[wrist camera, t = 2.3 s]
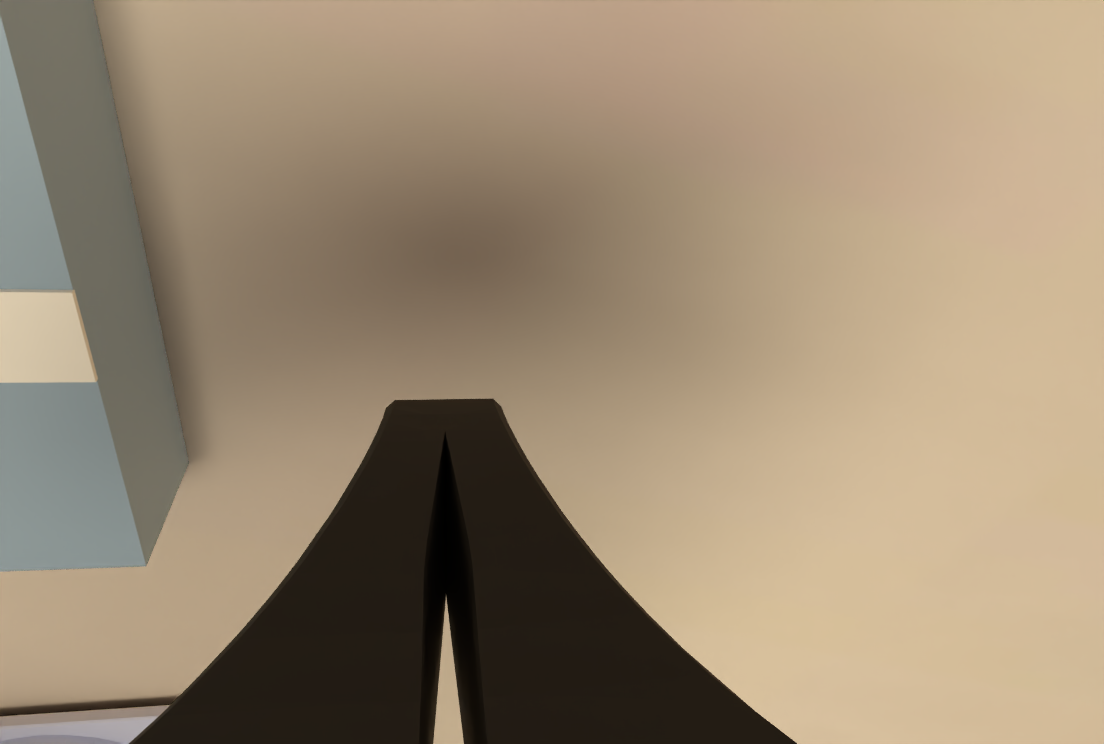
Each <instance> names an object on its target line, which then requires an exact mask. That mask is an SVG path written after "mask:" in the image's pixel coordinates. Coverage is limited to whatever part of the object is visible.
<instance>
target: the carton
mask: <svg viewBox="0 0 1104 744" xmlns="http://www.w3.org/2000/svg"><path fill="white" fill-rule="evenodd" d="M188 464H189V460H188V456H187V451H186V446H185V441H184V436H183V431H182V427H181V422H180V417H179V412H178V407H177V402H176V398H175V393H174V388H173V383H172V378H171V373H170V369H169V364H168V359H167V354H166V349H165V344H164V340H163V335H162V330H161V325H160V320H159V315H158V311H157V306H156V301H155V296H154V291H153V286H152V282H151V277H150V272H149V267H148V262H147V257H146V253H145V248H144V243H143V238H142V233H141V229H140V224H139V219H138V214H137V209H136V204H135V200H134V195H133V190H132V185H131V180H130V175H129V171H128V166H127V161H126V156H125V151H124V146H123V142H122V137H121V132H120V127H119V122H118V117H117V113H116V108H115V103H114V98H113V93H112V88H111V84H110V79H109V74H108V69H107V64H106V59H105V55H104V50H103V45H102V40H101V35H100V31H99V26H98V21H97V16H96V11H95V6H94V2H93V0H0V571H28V570H56V569H84V568H112V567H139V566H147V563H148V561H149V558H150V556H151V553H152V551H153V549H154V546H155V544H156V541H157V539H158V536H159V534H160V532H161V529H162V527H163V524H164V522H165V519H166V517H167V515H168V512H169V510H170V507H171V505H172V502H173V500H174V498H175V495H176V493H177V490H178V488H179V485H180V483H181V481H182V478H183V476H184V473H185V471H186V469H187V466H188Z"/></svg>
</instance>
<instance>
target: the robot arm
mask: <svg viewBox="0 0 1104 744" xmlns="http://www.w3.org/2000/svg"><path fill="white" fill-rule="evenodd" d="M446 596H447V605H448V613H449V622H450V630H451V639H452V647H453V655H454V664H455V672H456V680H457V689H458V697H459V705H460V714H461V722H462V730H463V738H464V744H797V743H796V742H794V741H793V740H792V739H790V738H789V737H788V736H787V735H785V734H784V733H783V732H781V731H780V730H779V729H777V728H776V727H775V726H774V725H772V724H771V723H770V722H768V721H767V720H766V719H764V718H763V717H762V716H761V715H759V714H758V713H757V712H755V711H754V710H753V709H752V708H751V707H750V706H748V705H747V704H746V703H745V702H744V701H743V700H741V699H740V698H739V697H738V696H737V695H736V694H735V693H733V692H732V691H731V690H730V689H729V688H728V687H727V686H725V685H724V684H723V683H722V682H721V681H720V680H718V679H717V678H716V677H715V676H714V675H713V674H712V673H710V672H709V671H708V670H707V669H706V668H705V667H704V666H702V665H701V664H700V663H699V662H698V661H697V660H695V659H694V658H693V657H692V656H691V655H690V654H689V653H687V652H686V651H685V650H684V649H683V648H682V647H681V646H680V645H679V644H678V643H677V642H676V641H675V640H674V639H673V638H672V637H671V636H670V635H669V634H668V633H667V632H666V631H665V630H664V629H663V628H662V627H661V626H660V625H659V624H658V623H657V622H656V621H654V620H653V619H652V618H651V617H650V616H649V615H648V614H647V613H646V611H645V610H644V609H643V608H642V607H641V606H640V605H639V604H638V603H637V602H636V601H635V600H634V599H633V598H632V596H631V595H630V594H629V593H628V592H627V591H626V590H625V589H624V588H623V587H622V586H621V585H620V584H619V582H618V581H617V580H616V579H615V578H614V577H613V575H612V574H611V573H610V572H609V571H608V570H607V569H606V567H605V566H604V565H603V564H602V563H601V561H600V560H599V559H598V558H597V557H596V555H595V554H594V553H593V552H592V550H591V549H590V548H589V546H588V545H587V544H586V543H585V541H584V540H583V539H582V538H581V536H580V535H579V534H578V532H577V531H576V530H575V529H574V527H573V526H572V525H571V523H570V522H569V520H568V519H567V518H566V516H565V515H564V514H563V512H562V511H561V509H560V508H559V507H558V505H557V504H556V502H555V501H554V499H553V498H552V496H551V495H550V493H549V492H548V490H547V489H546V487H545V486H544V484H543V483H542V481H541V480H540V478H539V477H538V475H537V474H536V472H535V470H534V469H533V467H532V466H531V464H530V462H529V461H528V459H527V457H526V456H525V454H524V452H523V450H522V449H521V447H520V445H519V443H518V442H517V440H516V438H515V436H514V434H513V432H512V430H511V428H510V426H509V424H508V422H507V420H506V417H505V415H504V413H503V410H502V408H501V406H500V405H499V404H498V403H497V402H496V401H495V400H494V399H444V400H395V401H394V402H393V403H391V404H390V405H389V406H388V407H387V408H386V410H385V413H384V416H383V419H382V421H381V424H380V426H379V429H378V431H377V433H376V435H375V437H374V439H373V442H372V444H371V446H370V448H369V449H368V451H367V453H366V455H365V457H364V459H363V461H362V463H361V465H360V466H359V468H358V470H357V472H356V473H355V475H354V477H353V478H352V480H351V482H350V483H349V485H348V487H347V488H346V490H345V492H344V493H343V495H342V497H341V498H340V500H339V502H338V503H337V505H336V507H335V508H334V510H333V511H332V513H331V514H330V516H329V517H328V519H327V520H326V522H325V523H324V525H323V526H322V527H321V529H320V530H319V532H318V533H317V534H316V536H315V537H314V539H313V540H312V542H311V543H310V544H309V546H308V547H307V549H306V550H305V552H304V553H303V554H302V556H301V557H300V559H299V560H298V562H297V563H296V564H295V566H294V567H293V568H292V570H291V571H290V572H289V573H288V575H287V576H286V577H285V579H284V580H283V581H282V582H281V584H280V585H279V586H278V588H277V589H276V590H275V591H274V592H273V594H272V595H271V596H270V597H269V599H268V600H267V601H266V602H265V603H264V605H263V606H262V607H261V608H260V609H259V610H258V612H257V613H256V614H255V615H254V616H253V618H252V619H251V620H250V621H249V622H248V623H247V625H246V626H245V627H244V628H243V629H242V630H241V631H240V633H239V634H238V635H237V636H236V637H235V638H234V639H233V640H232V641H231V642H230V643H229V645H228V646H227V647H226V648H225V649H224V650H223V651H222V652H221V653H220V654H219V655H218V656H217V657H216V658H215V660H214V661H213V662H212V663H211V664H210V665H209V666H208V667H207V668H206V669H205V670H204V671H203V672H202V673H201V674H200V676H199V677H198V678H197V679H196V680H195V681H194V682H193V683H192V684H191V685H190V686H189V687H188V688H187V689H186V690H185V691H184V692H183V693H182V694H181V695H180V696H179V697H178V698H177V699H176V700H175V701H174V702H173V703H172V704H171V705H161V706H147V707H132V708H117V709H102V710H87V711H72V712H57V713H42V714H27V715H13V716H0V744H433V738H434V727H435V715H436V704H437V692H438V681H439V670H440V658H441V647H442V635H443V623H444V612H445V600H446Z"/></svg>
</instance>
